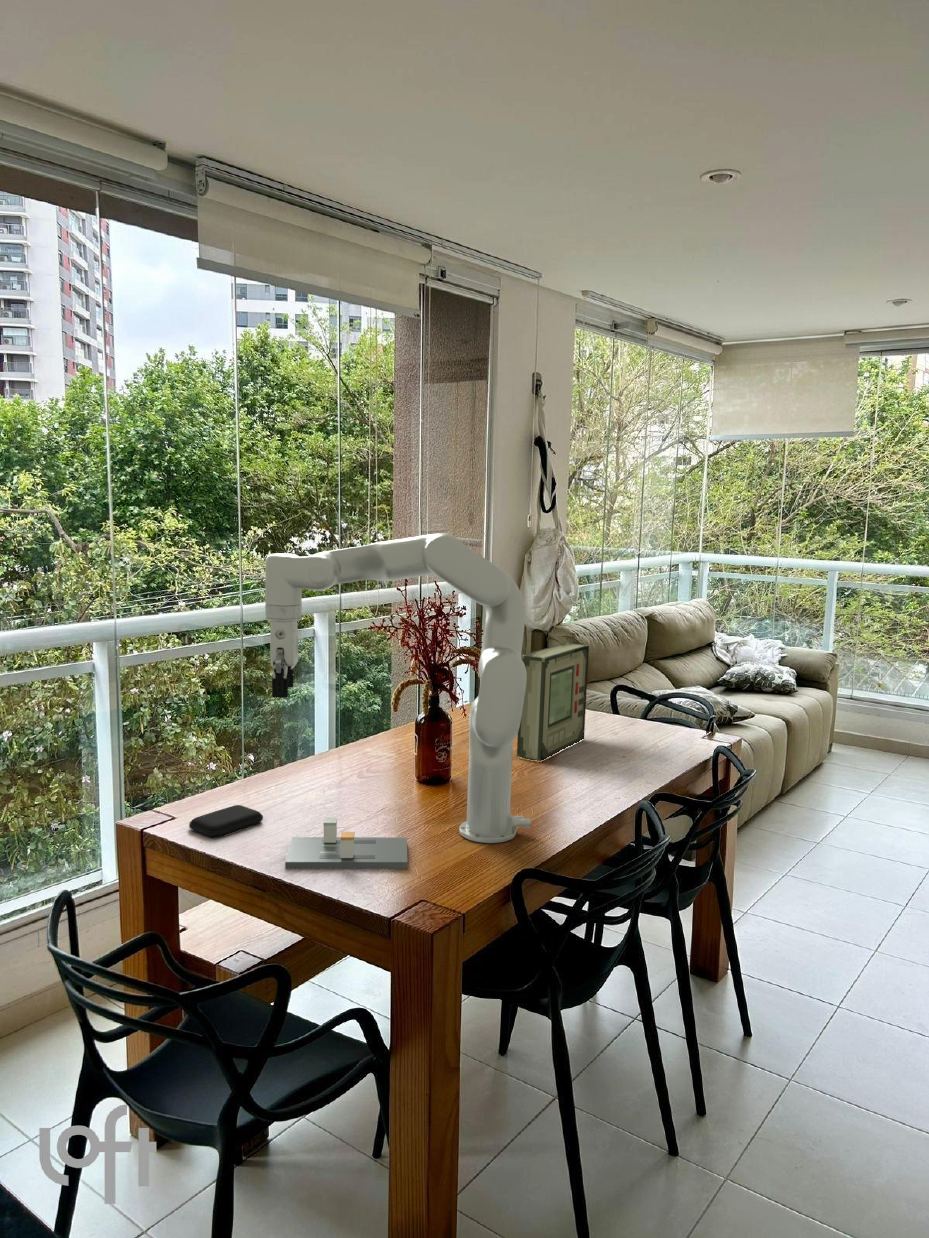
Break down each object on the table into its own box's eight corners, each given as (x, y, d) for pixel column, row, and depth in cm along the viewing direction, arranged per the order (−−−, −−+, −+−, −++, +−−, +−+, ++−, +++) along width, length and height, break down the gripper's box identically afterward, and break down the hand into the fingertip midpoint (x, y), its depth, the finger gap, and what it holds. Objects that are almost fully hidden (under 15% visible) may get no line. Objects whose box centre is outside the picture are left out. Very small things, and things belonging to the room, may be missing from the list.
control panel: (540, 763, 255) (544, 658, 251) (516, 758, 259) (521, 655, 255) (583, 740, 280) (588, 645, 276) (562, 736, 284) (566, 642, 280)
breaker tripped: (354, 851, 183) (354, 831, 182) (353, 858, 180) (353, 837, 179) (341, 851, 182) (341, 831, 182) (340, 858, 179) (340, 837, 179)
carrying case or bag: (235, 812, 209) (181, 830, 197) (235, 800, 208) (181, 816, 197) (266, 824, 203) (213, 842, 191) (267, 810, 202) (212, 828, 190)
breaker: (336, 837, 190) (337, 817, 190) (335, 842, 187) (336, 822, 187) (324, 836, 190) (324, 817, 189) (323, 842, 187) (323, 822, 186)
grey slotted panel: (406, 844, 193) (406, 837, 192) (407, 869, 180) (407, 861, 179) (292, 843, 191) (292, 836, 190) (285, 869, 178) (285, 861, 178)
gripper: (297, 618, 182) (296, 701, 184) (305, 607, 199) (304, 684, 201) (259, 617, 181) (259, 701, 184) (271, 607, 199) (270, 683, 201)
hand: (282, 692), depth 193 cm, fingers open, 9 cm apart
